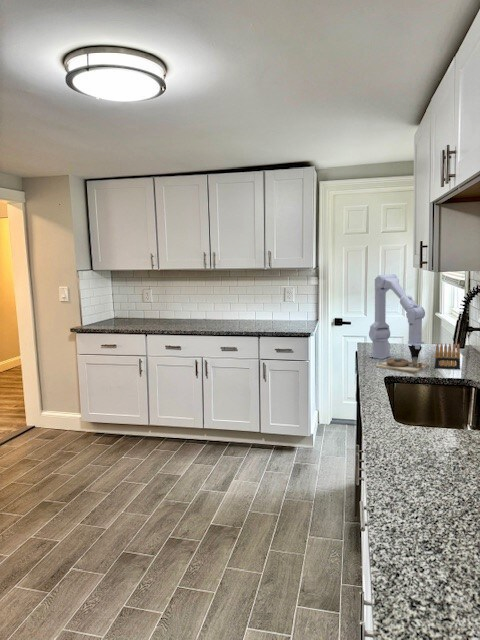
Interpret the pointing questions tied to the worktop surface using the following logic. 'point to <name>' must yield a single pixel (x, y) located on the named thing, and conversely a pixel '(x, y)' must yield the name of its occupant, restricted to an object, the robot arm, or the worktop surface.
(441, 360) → the ammunition clip
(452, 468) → the worktop surface
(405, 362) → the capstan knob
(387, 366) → the board
